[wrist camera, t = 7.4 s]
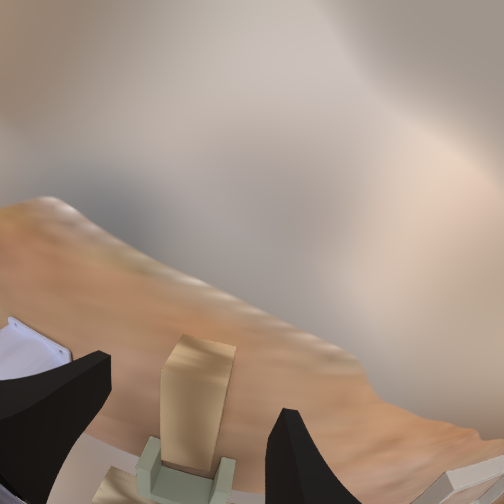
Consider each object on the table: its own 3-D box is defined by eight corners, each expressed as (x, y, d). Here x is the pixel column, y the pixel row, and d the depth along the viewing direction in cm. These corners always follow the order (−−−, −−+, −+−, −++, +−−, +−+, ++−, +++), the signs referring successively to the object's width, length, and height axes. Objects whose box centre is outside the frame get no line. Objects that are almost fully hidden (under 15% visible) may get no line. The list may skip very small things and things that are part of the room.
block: (150, 468, 24) (138, 495, 20) (150, 435, 23) (135, 466, 18) (222, 489, 24) (217, 518, 20) (235, 459, 22) (230, 493, 18)
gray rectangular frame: (373, 531, 27) (376, 546, 23) (445, 471, 23) (454, 489, 19) (476, 501, 27) (481, 511, 23) (534, 441, 22) (541, 451, 18)
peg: (176, 421, 22) (161, 459, 17) (183, 333, 20) (160, 370, 15) (219, 431, 22) (209, 472, 17) (236, 345, 20) (226, 387, 15)
